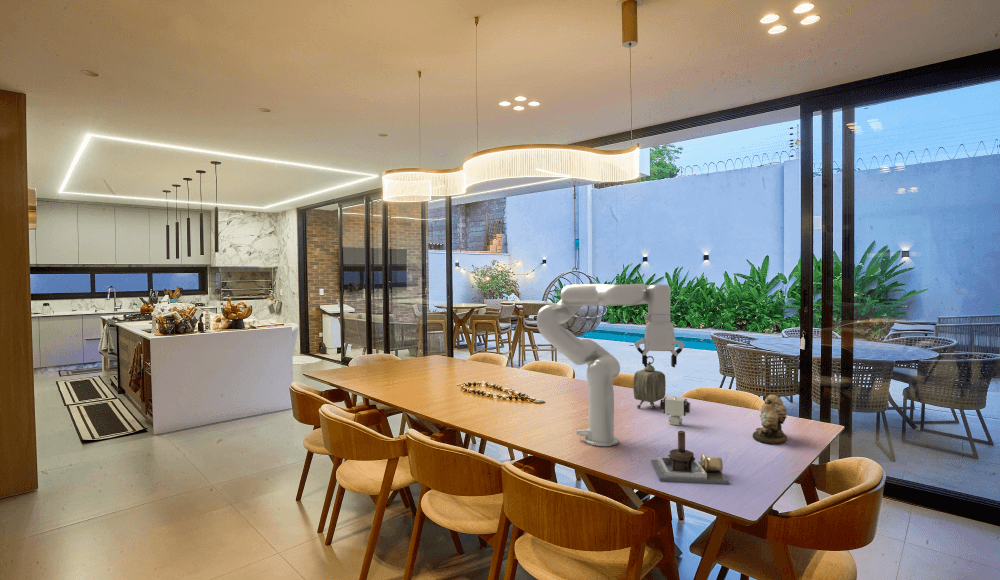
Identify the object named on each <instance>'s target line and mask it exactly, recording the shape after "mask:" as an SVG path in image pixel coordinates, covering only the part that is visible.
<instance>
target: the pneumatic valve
mask: <svg viewBox="0 0 1000 580" xmlns="http://www.w3.org/2000/svg"><path fill="white" fill-rule="evenodd" d="M691 407H692V406H691V402H688V398H681V397H677V396H676V395H674V396H673V397H671V396H665V397H664V398H663V399H661V400H660V402H659V408H660V410H661V411H662V412H663V414H665V415H670V416H669V417H668V419H667V420H668V421H667V422H668V423H669V424H670V425H671V426H680V425H682V423H683V418H682V417H681V416H687V414H689V413H691V409H692V408H691Z"/></svg>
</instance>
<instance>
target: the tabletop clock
mask: <svg viewBox="0 0 1000 580" xmlns="http://www.w3.org/2000/svg"><path fill="white" fill-rule="evenodd" d="M649 358H651V359H652V361H647V367H645V366H644V368H643V369H640V370H637V371H636V372H634V375H633V387H632V389H633V398H634V399H635V400H637V401H640V402H639V404H638V405H637V409H640V408H642V407H641V406H642V404H643V403H645V402H647V403H649V404H650V405H651V407H652V409H656V407H657V406H656V405H655V404H654V403H655V402H658V401H661V400H664V398H665V397H666V389H667V388H666V383H667V382H666V374H665V373H664V372H662V371H660V370H656V368H655V367H654V366H653V364H654V360H655V359H654V357H653V356H652V355H648V356H647V359H649Z"/></svg>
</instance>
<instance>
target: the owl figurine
mask: <svg viewBox="0 0 1000 580" xmlns="http://www.w3.org/2000/svg"><path fill="white" fill-rule="evenodd" d="M787 411H788V410H787V407H786V405H784V401H783V400H782V398H781V397H780V396H778V395H775V394H769V395H768V396H767V397H766V398H765V400H764V404H762V405H761V408H760V414H759V418H760V421H761V426H762V427H757V428H756V429H755V431H753V433H752V438H753V439H754V440H755V441H756V442H759V443H762V444H766V445H771V446H772V445H774V446H781V445H784V444H786V443H787V442H788V436H787V435H786V434H785V432H784V431H783V430H782V428H783V427H782V425H784V422H785V421H786V419H787V413H788V412H787Z"/></svg>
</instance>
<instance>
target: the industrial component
mask: <svg viewBox="0 0 1000 580" xmlns="http://www.w3.org/2000/svg"><path fill="white" fill-rule="evenodd" d="M694 455H695V453H694V452H692V451H690V450H688V449H686V431H683V430H678V431H677V448H673V449H671V450H669V454H668V455H667V457H670V459H671V460H672V467H673V469H675V470H678V471H689V470H692V462H694V460H695V458H696V457H694Z"/></svg>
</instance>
